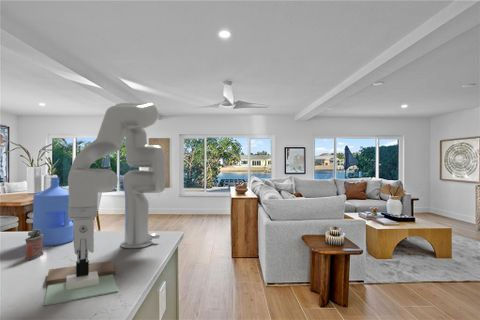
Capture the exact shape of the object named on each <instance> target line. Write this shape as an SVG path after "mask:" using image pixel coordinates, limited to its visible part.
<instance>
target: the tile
mask: <svg viewBox="0 0 480 320" xmlns="http://www.w3.org/2000/svg"><path fill="white" fill-rule="evenodd" d="M97 284H99V277H98V273H97V271H94V272H89V274H88V275H86V276H80V277H76V274H75V275H69V276H67V279H66V290H69V289H75V288H80V287H86V286H91V285H97Z"/></svg>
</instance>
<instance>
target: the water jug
mask: <svg viewBox="0 0 480 320" xmlns="http://www.w3.org/2000/svg"><path fill="white" fill-rule="evenodd" d="M68 204H69V189H68V190H67V189H65V188H62V187H61V186H60V177H50V187H48V188H46V189H44V190H42V191H39V192H37V193H35V194H34V195H33V199H32V205H33V207H32V208H33V211H32V212H33V213H32V215H33V216H32V230H35V229H41V232H40V234H43V247H53V246H59V245H64V244H68V243H70V242H72V241H73V219H68Z"/></svg>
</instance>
